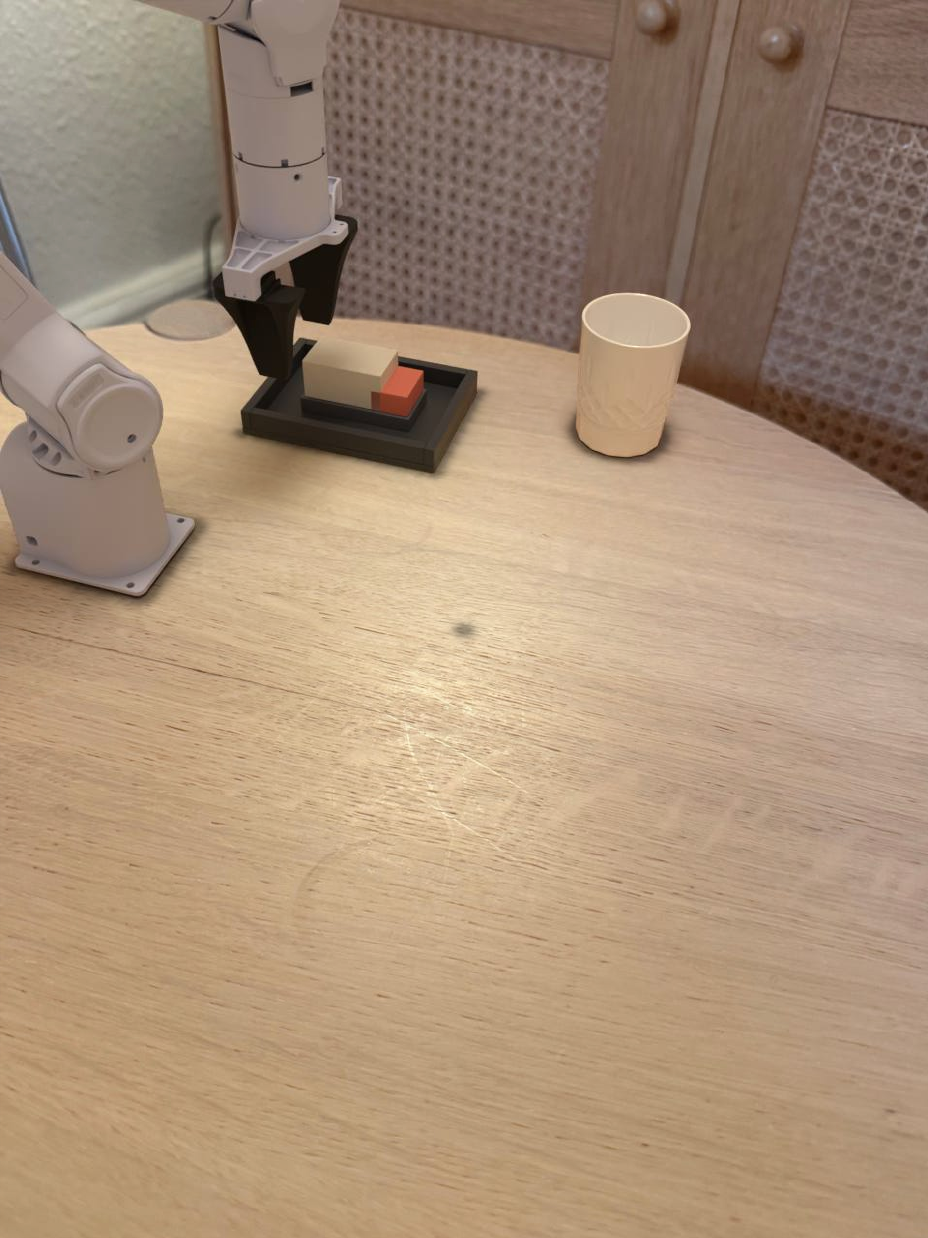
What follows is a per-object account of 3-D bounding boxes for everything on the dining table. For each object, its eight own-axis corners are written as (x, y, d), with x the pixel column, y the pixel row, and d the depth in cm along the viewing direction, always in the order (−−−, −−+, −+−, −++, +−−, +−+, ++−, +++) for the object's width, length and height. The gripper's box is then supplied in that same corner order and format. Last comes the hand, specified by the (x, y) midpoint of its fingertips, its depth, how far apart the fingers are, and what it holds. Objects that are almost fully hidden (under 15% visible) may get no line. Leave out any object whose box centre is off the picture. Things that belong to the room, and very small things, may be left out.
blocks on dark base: (301, 410, 86) (296, 361, 82) (322, 381, 89) (319, 332, 86) (408, 432, 84) (408, 383, 81) (426, 401, 87) (427, 353, 84)
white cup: (684, 425, 87) (707, 312, 80) (641, 475, 82) (662, 358, 75) (597, 394, 90) (612, 282, 82) (550, 440, 85) (562, 325, 78)
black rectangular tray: (242, 433, 84) (239, 410, 83) (301, 358, 92) (299, 336, 91) (433, 473, 81) (434, 450, 80) (476, 392, 89) (478, 370, 88)
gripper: (293, 207, 60) (309, 413, 70) (381, 117, 70) (385, 307, 80) (178, 188, 62) (210, 392, 71) (281, 102, 72) (297, 291, 81)
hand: (296, 346), depth 76 cm, fingers open, 7 cm apart
